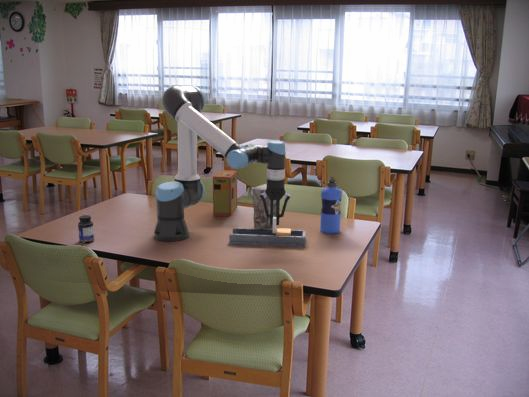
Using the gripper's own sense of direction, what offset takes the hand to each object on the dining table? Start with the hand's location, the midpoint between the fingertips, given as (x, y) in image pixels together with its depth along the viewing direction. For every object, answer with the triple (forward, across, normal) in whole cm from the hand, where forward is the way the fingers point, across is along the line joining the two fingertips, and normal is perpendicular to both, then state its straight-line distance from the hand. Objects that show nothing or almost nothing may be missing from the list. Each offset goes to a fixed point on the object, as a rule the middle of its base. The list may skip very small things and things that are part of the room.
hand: (274, 232), depth 230 cm
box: (+5, -29, +45) cm, 54 cm away
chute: (+4, -3, 0) cm, 5 cm away
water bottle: (+4, +24, +18) cm, 30 cm away
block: (+3, +4, 0) cm, 5 cm away
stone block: (+5, -6, +20) cm, 21 cm away
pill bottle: (+5, -80, -9) cm, 80 cm away
